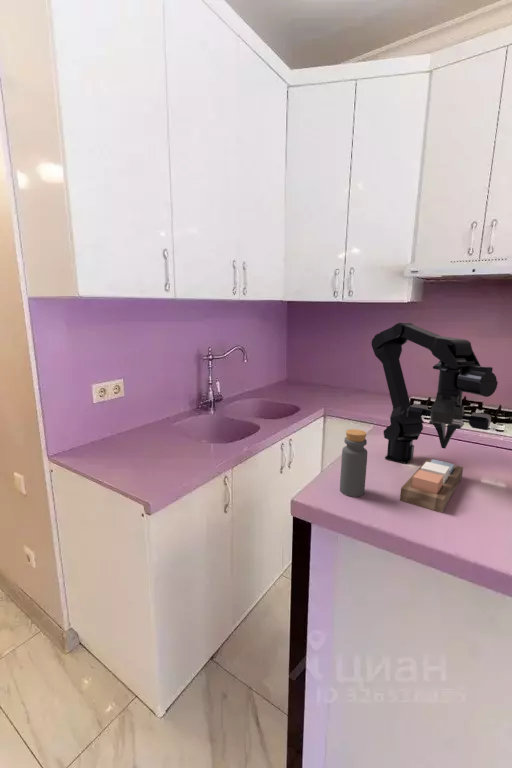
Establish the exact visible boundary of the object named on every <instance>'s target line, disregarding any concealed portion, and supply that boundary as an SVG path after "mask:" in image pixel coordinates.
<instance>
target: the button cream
mask: <svg viewBox="0 0 512 768" xmlns="http://www.w3.org/2000/svg"><path fill="white" fill-rule="evenodd" d="M449 468H450V467H448V466H444V465H439V464H435V463H431V462H426V463H425V464H424V465H423V466H422V467H421V470H422V471H426V472H430V473H434V474H438V475H442V476H443V484H445V483H446V482H447V480H448V476H449Z"/></svg>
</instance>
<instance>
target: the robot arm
mask: <svg viewBox="0 0 512 768" xmlns="http://www.w3.org/2000/svg"><path fill="white" fill-rule="evenodd" d="M409 341H410V342H411V343H414V344H416V345H419V346H421V347H422V348H425V349H427V350H428V351H430V352H431V353H432V356H434V358H437V360H439V361H438V362H437V363H436V364H434V365H432V369H433V370H439V372H438V383H437V392H436V397H435V401H434V402H433V404H432V406H431V408H430V409H429V408H428V407H429V406H428V405H424V404H417V403H414V404H412V405H411V400H410V398H409V393H408V389H407V385H406V381H405V377H404V373H403V369H402V366H401V362H400V359H401V355H402V352H403V348H402V347H403V346H404V345H405V344H406V343H407V342H409ZM371 348H372V351H373V353H374V357H376V358H377V359H378V360H379V361H380V363H381V364H382V368H383V373H384V375H385V380H386V385H387V388H388V392H389V397H390V401H391V405H392V410H391V414H390V418H389V420H390V425H388V426H387V427H386V428H385V429H384V430H383V437H384V439H386V440H387V454H386V455H385V456H384V459H385V460H389V461H394V462H398V463H402V464H408V463H409V462H411V461H412V460H413V459H414V453H415V452H414V451H415V445H414V443H413V442H414V441H416V440H417V441H418V439H419V438H420V435H421V433H422V431H423V430H424V424H425V422H424V420H423V418H422V417H424V416H425V417H429V418H430V419H429V421H428V423H429V425H433V427H434V428H435V430H436V433H437V435H438V438H439V443H440V447H441V449H446V448H447V446H448V444H449V443H450V440H451V438H452V437H453V435H454V433H455V431H456V430H457V429H458V430H459V429H461V428H462V427H463V426H464V425H465V423H467V424H468V425H469V426H470V427H471V428H472V429H478V430H482V431H483V430H484V431H487V430H489V428H490V426H491V421H492V417H491V416H490V414H489V413H488V414H487V413H480V412H476V411H474V412H471V415H469V414H465V405H464V404H462V401H463V393H466V394H471V395H476V396H481V397H485V398H489V397H491V396H492V395H494V393H495V392H496V390H497V388H498V383H499V382H498V380H497V375H495V373H494V372H493V367H492V366H481V364H480V362H479V360H478V358H477V356H476V354H475V352H474V350H473V347H472V342H471V341H470V340H468V339H464V338H460V337H459V338H458V337H452V336H451V337H449V336H448V337H447V336H443V335H439V334H437V333H435V332H432V331H430V330H428V329H425V328H422V327H419V326H417V325H414V323H411V322H398V323H395V324H394V325H393V326H391V327H389V328H387V329H385V330H382V331H380V332H378V333H376V334H374V337H373V338H372V339H371Z"/></svg>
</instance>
